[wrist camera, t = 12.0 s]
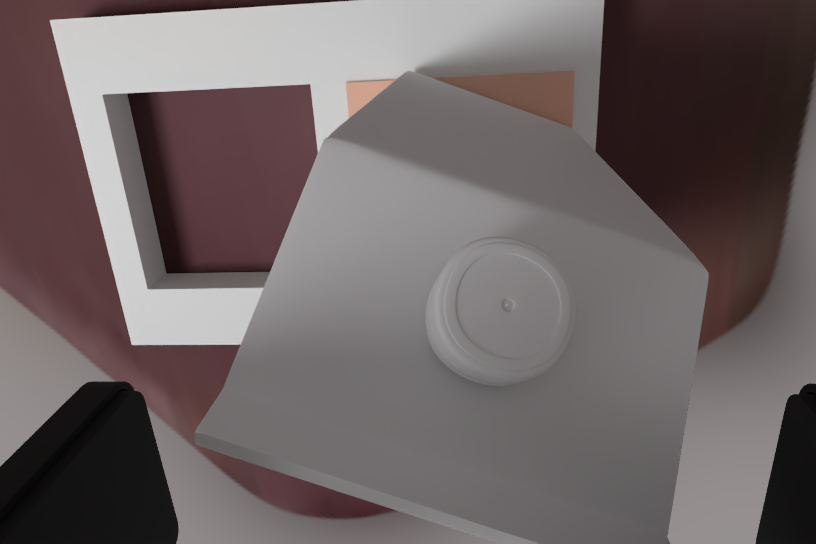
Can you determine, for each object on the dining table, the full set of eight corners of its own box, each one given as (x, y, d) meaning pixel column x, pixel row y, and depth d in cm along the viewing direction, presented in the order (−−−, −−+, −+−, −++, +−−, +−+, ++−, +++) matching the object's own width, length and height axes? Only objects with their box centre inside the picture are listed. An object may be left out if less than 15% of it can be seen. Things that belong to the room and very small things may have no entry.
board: (594, -13, 25) (606, -16, 23) (577, 322, 30) (585, 344, 28) (78, 20, 27) (46, 20, 25) (151, 326, 33) (129, 347, 30)
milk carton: (508, 281, 27) (579, 746, 10) (356, 229, 27) (151, 611, 10) (575, 128, 25) (839, 394, 7) (406, 68, 24) (249, 191, 7)
